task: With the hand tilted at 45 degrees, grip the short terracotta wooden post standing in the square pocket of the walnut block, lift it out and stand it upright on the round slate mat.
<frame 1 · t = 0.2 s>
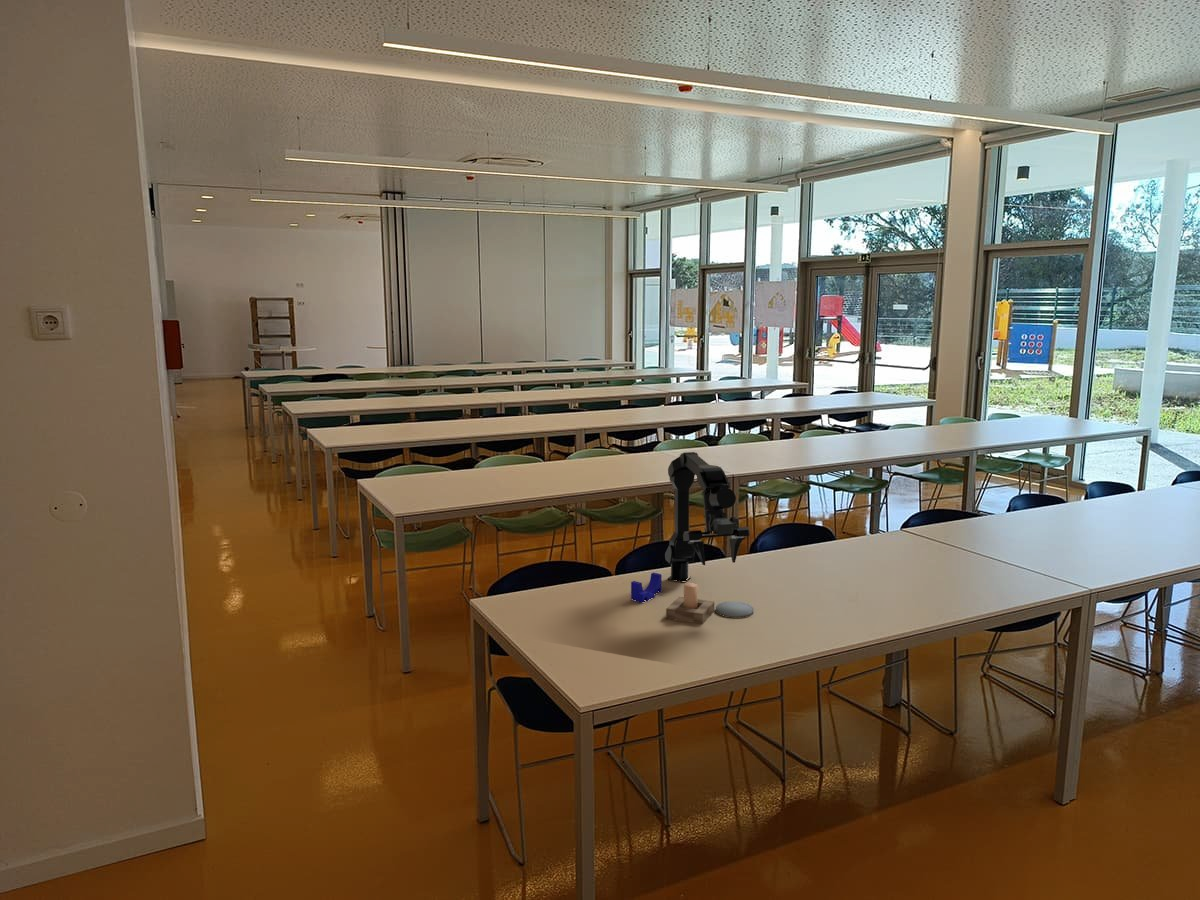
hand: (719, 563, 236), 15 cm above the table, tool tilted 15°, fingers open, 9 cm apart
slate mat: (734, 611, 241), on the table
cable clip: (648, 597, 254), on the table
post: (690, 600, 237), in the pocket block
pocket block: (690, 614, 238), on the table
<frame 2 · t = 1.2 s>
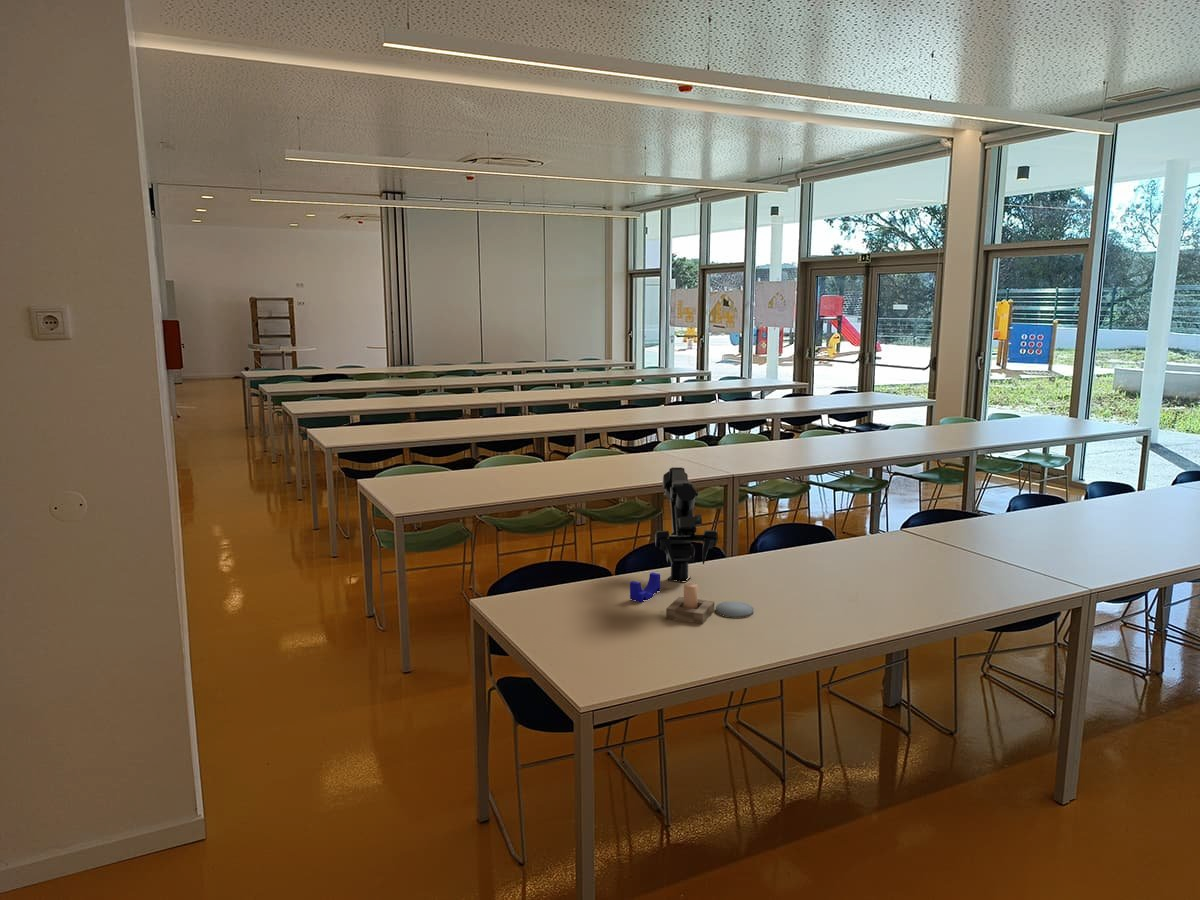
hand: (688, 563, 243), 13 cm above the table, tool tilted 45°, fingers open, 9 cm apart
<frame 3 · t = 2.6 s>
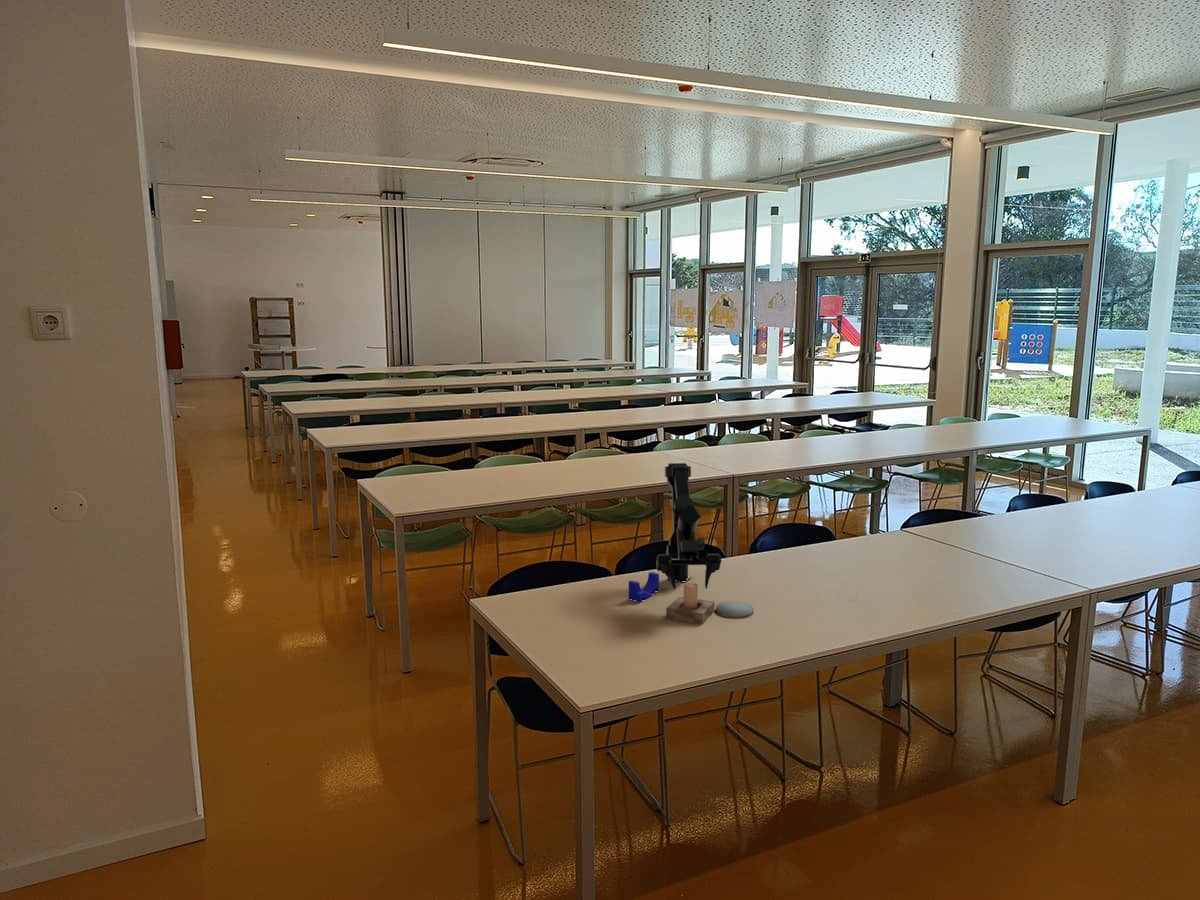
hand: (690, 588, 237), 8 cm above the table, tool tilted 45°, fingers open, 9 cm apart
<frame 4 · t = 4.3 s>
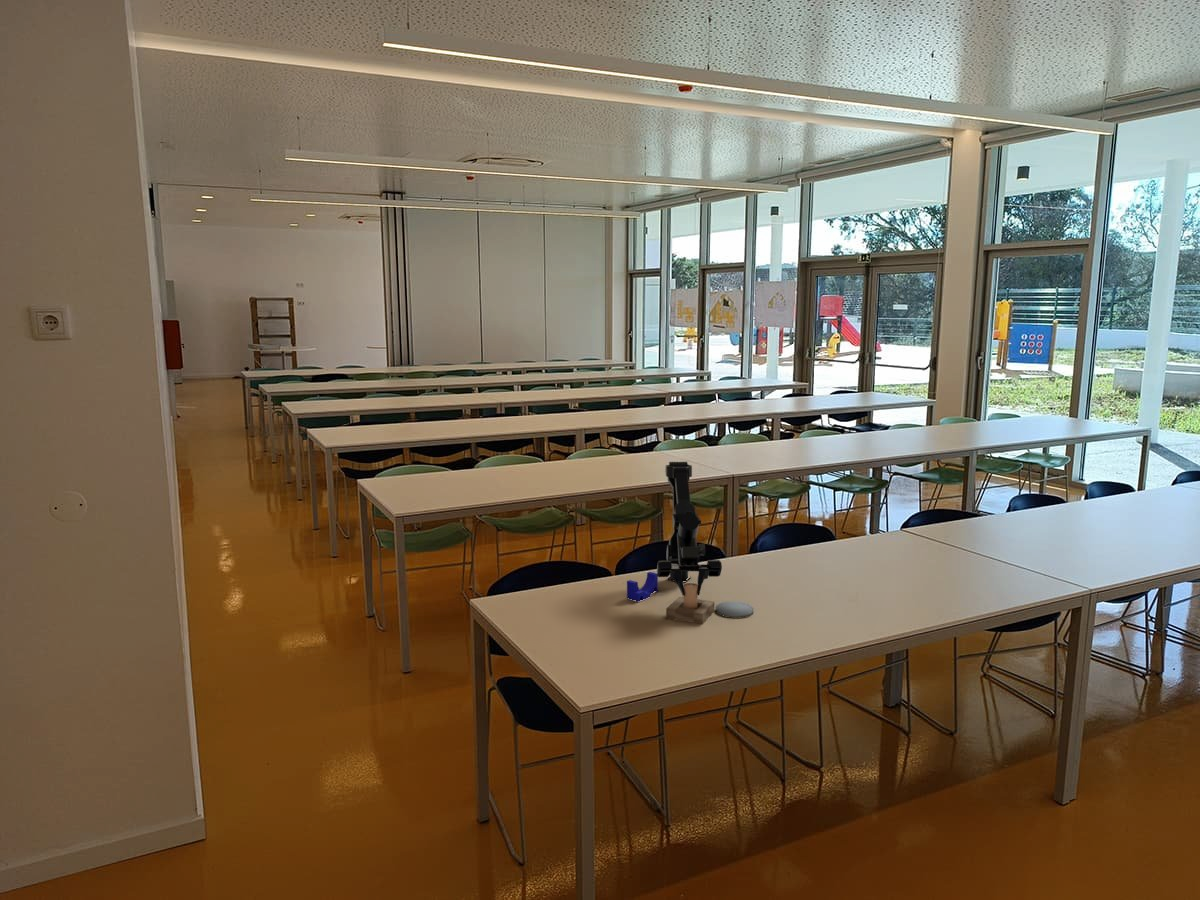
hand: (691, 594, 236), 7 cm above the table, tool tilted 45°, fingers closed on post, 4 cm apart
post: (690, 600, 237), in the pocket block, touching gripper
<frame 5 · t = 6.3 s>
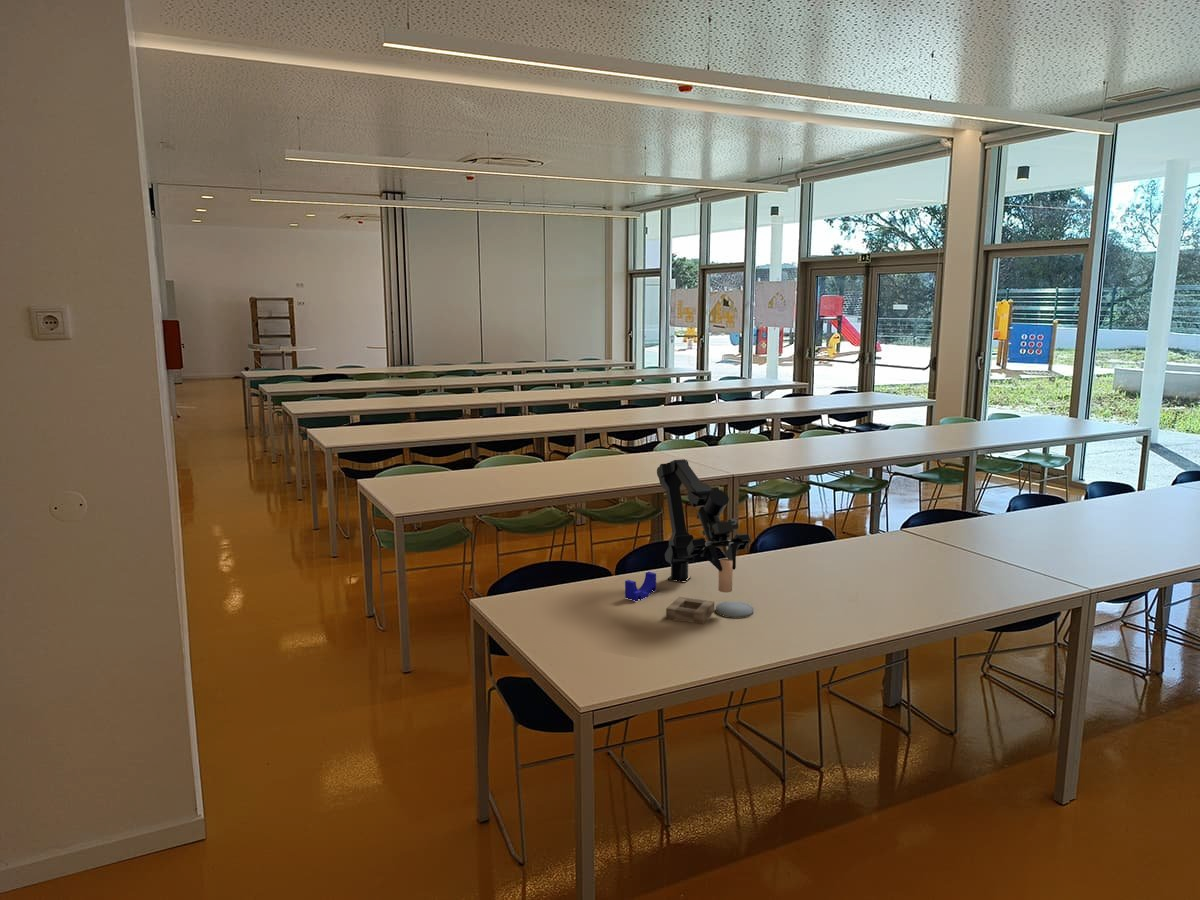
hand: (727, 569, 236), 13 cm above the table, tool tilted 45°, fingers closed on post, 4 cm apart
post: (725, 575, 238), point 11 cm above the table, touching gripper
when the fingers open (8 cm above the table, at t = 8.5 s): post stays where it is, resting on slate mat.
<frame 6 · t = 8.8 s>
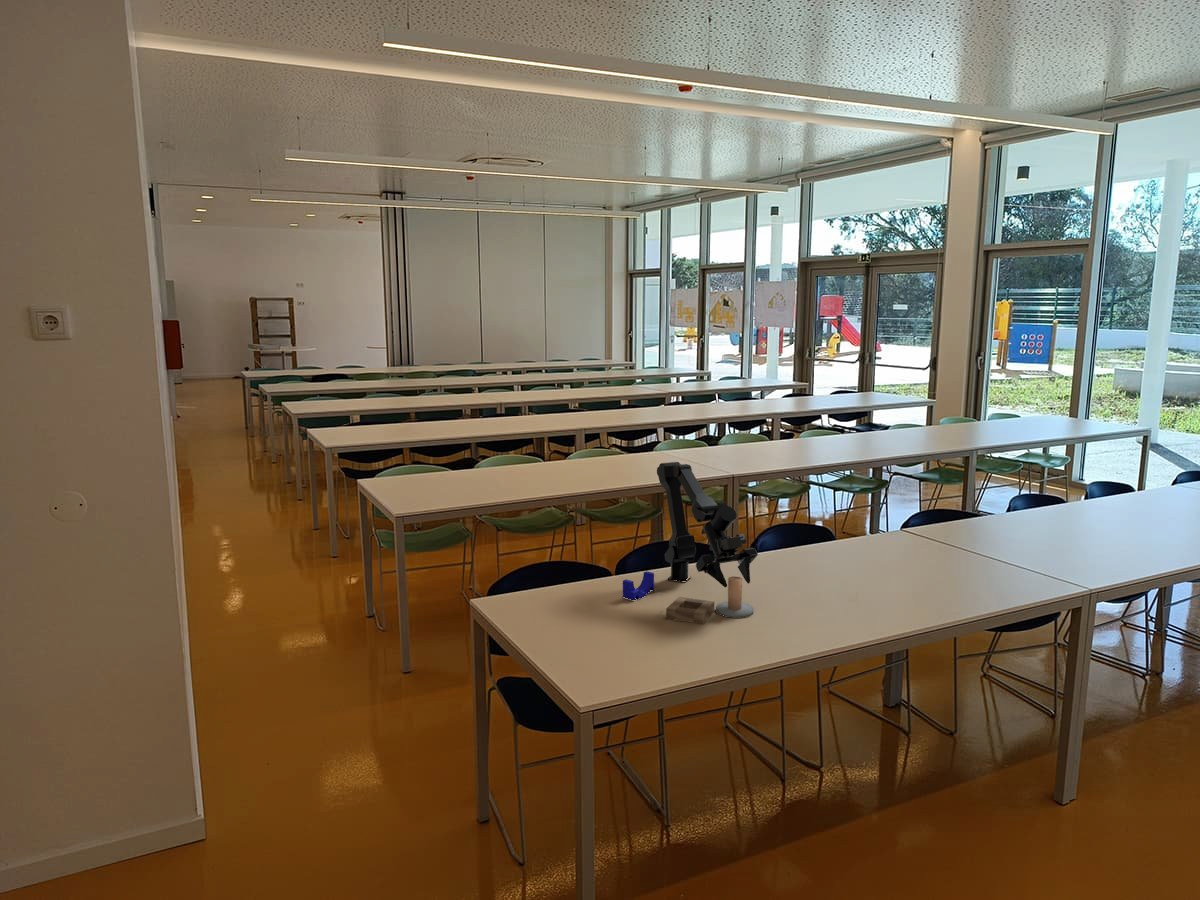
hand: (737, 584, 238), 9 cm above the table, tool tilted 45°, fingers open, 8 cm apart
post: (734, 593, 240), on the slate mat, point 6 cm above the table
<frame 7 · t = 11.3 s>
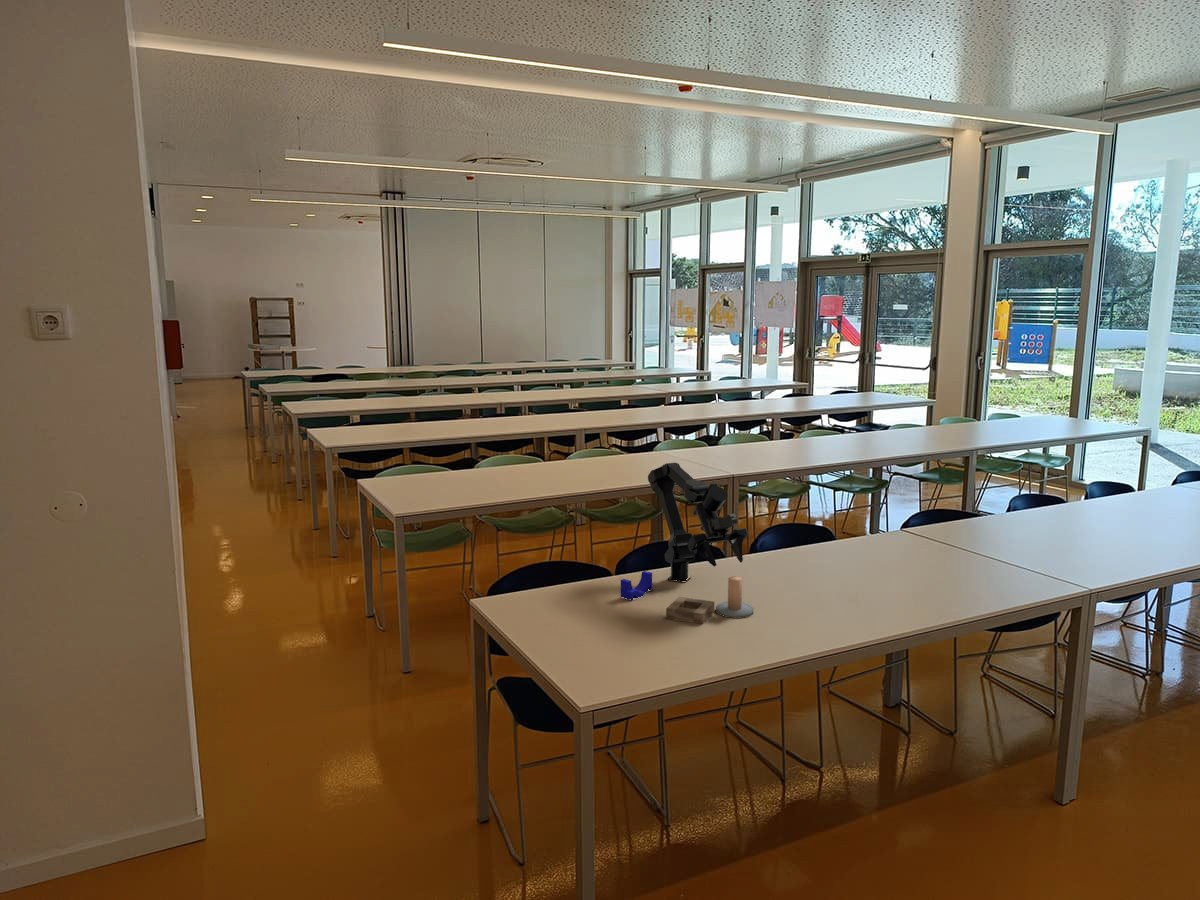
hand: (728, 563, 242), 14 cm above the table, tool tilted 45°, fingers open, 9 cm apart
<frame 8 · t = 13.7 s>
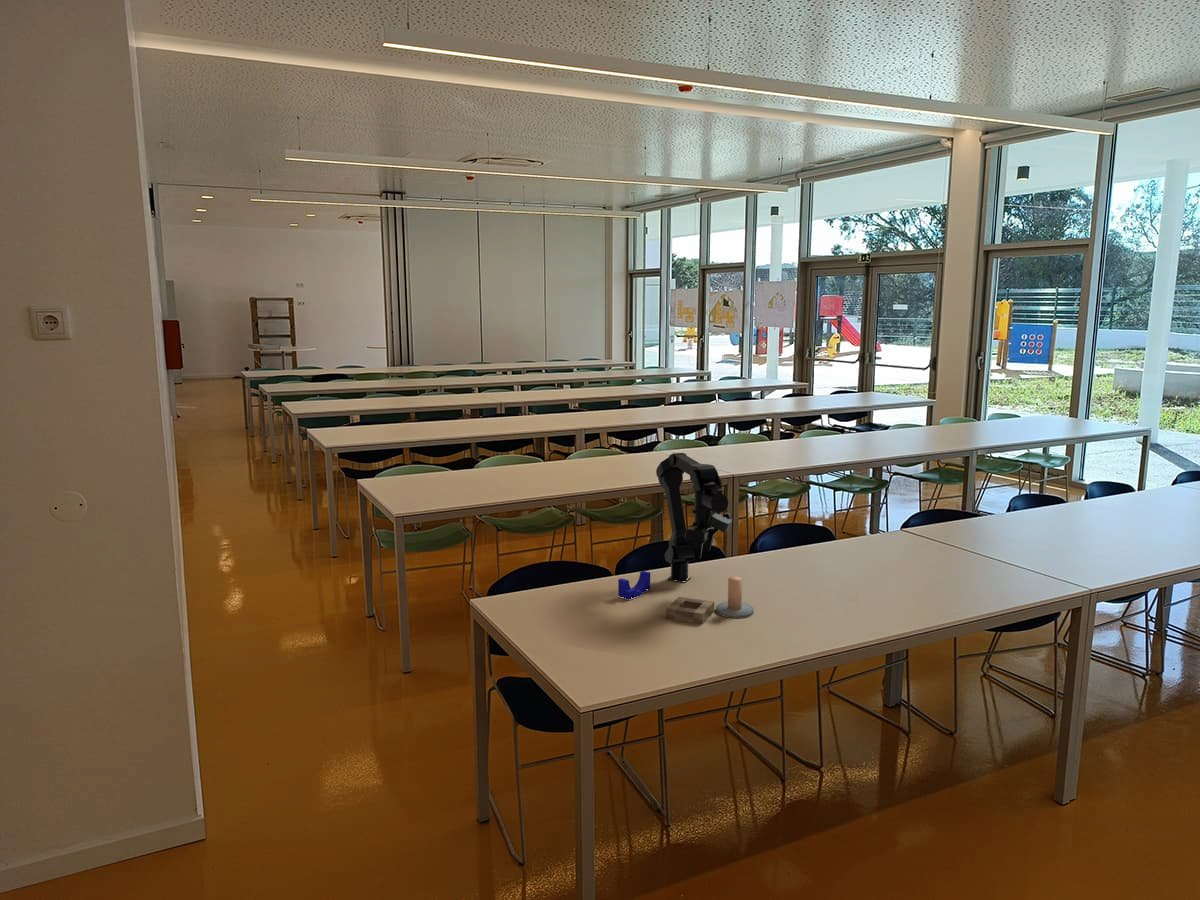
hand: (703, 554, 253), 13 cm above the table, tool pointing down, fingers open, 9 cm apart
at the end: post 0.0 cm off-centre on the slate mat, point 5.5 cm above the slate mat's base; post tilted 0°; the gripper is holding nothing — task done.
